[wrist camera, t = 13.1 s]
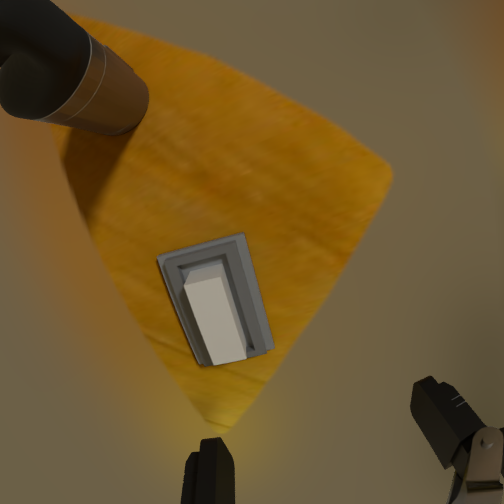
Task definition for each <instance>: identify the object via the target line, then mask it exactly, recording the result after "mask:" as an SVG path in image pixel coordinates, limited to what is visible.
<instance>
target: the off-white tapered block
mask: <svg viewBox="0 0 504 504" xmlns="http://www.w3.org/2000/svg"><path fill="white" fill-rule="evenodd" d="M184 288H185V291H186V294H187V296H188V299H189V302H190V305H191V308H192V310H193V313H194V316H195V318H196V321H197V324H198V326H199V329H200V332H201V334H202V337H203V339H204V342H205V344H206V347H207V350H208V352H209V354H210V357H211V359H212V362H213V364H214V365H219V364H224V363H229V362H234V361H239V360H244V359H247V357H246V339H245V336H244V332H243V329H242V326H241V323H240V320H239V316H238V313H237V310H236V307H235V303H234V300H233V297H232V293H231V290H230V287H229V283H228V280H227V277H226V273H225V270H224V266H223V263H222V264H218V265H214V266H210V267H206V268H202V269H198V270H194V271H190V273H189V275H188V277H187V279H186V282H185V284H184Z"/></svg>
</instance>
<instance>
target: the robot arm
mask: <svg viewBox="0 0 504 504" xmlns="http://www.w3.org/2000/svg"><path fill="white" fill-rule="evenodd" d="M0 67H1V69H0V104H1V106H2V108H3V109H4V110H5V111H6V112H7V113H8V114H10V115H12V116H14V117H18V118H23V119H30V120H36V121H41V122H47V123H53V124H58V125H63V126H68V127H73V128H78V129H83V130H87V131H92V132H96V133H101V134H104V135H111V136H113V135H120V134H123V133H126V132H128V131H129V130H131V129H132V128H134V127H135V126H136V125H137V124H138V123H139V122H140V121H141V119H142V118H143V116H144V114H145V112H146V110H147V107H148V102H149V93H148V88H147V86H146V84H145V83H144V81H143V80H142V79H141V78H140V77H139V76H137V75H136V74H135V73H134V72H133V69H132V68H131V67H130V66H129V65H128V64H127V63H126V62H125V61H123V60H122V59H121V58H120V57H119V56H118V55H117V54H116V53H115V52H113V51H112V50H111V49H110V48H109V47H108V46H106V45H102V44H101V43H100V42H98V41H97V40H96V39H95V38H93V37H92V36H91V35H90V34H89V33H87V32H86V31H85V30H84V29H83V28H82V27H80V26H79V25H78V24H77V23H76V22H74V21H73V20H72V19H71V18H70V17H69V16H68V15H67V14H66V13H65V12H63V11H62V10H61V9H60V8H59V7H58V6H56V5H55V4H54V3H53V2H51V1H50V0H0ZM410 409H411V413H412V416H413V418H414V419H415V421H416V423H417V424H418V426H419V427H420V429H421V431H422V432H423V434H424V436H425V437H426V439H427V440H428V442H429V443H430V445H431V447H432V449H433V450H434V452H435V454H436V455H437V457H438V459H439V460H440V462H441V464H442V466H443V467H444V469H447V468H449V467H451V466H452V465H453V466H454V468H455V472H454V476H453V480H452V484H451V489H450V492H449V496H448V499H447V503H446V504H501V501H502V496H503V489H504V488H503V484H501V483H500V473H501V474H502V476H503V477H504V428H500V429H498V428H496V427H492V426H486V425H485V424H484V423H483V422H482V421H481V419H480V418H479V417H478V416H477V414H476V413H475V412H474V411H473V410H472V408H471V407H470V406H469V405H468V403H467V402H465V400H464V399H463V398H462V396H460V394H459V393H458V391H457V390H456V389H455V388H454V387H453V386H451V385H449V384H447V383H445V382H442V383H440V384H438V383H437V381H436V380H435V379H434V378H433V377H432V376H428V377H426V378H424V379H421V380H420V381H418V382H415V383H414V385H413V391H412V398H411V404H410ZM184 473H185V475H184V480H183V481H184V483H183V488H182V496H181V504H235V468H234V461H233V458H232V455H231V454H230V452H229V450H228V449H227V447H226V445H225V444H224V442H223V440H222V439H221V438H220V437H217V438H209V439H202V440H201V443H200V452H192V453H191V454H190V456H189V458H188V459H187V461H186V464H185V472H184Z"/></svg>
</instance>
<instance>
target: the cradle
mask: <svg viewBox="0 0 504 504" xmlns="http://www.w3.org/2000/svg"><path fill="white" fill-rule="evenodd" d="M157 259H158V262H159V265H160V268H161V271H162V274H163V276H164V279H165V282H166V285H167V287H168V290H169V293H170V295H171V298H172V300H173V303H174V306H175V308H176V311H177V313H178V316H179V318H180V321H181V323H182V326H183V328H184V331H185V333H186V335H187V338H188V340H189V343H190V345H191V347H192V350H193V352H194V354H195V356H196V359H197V361H198V363H199V364H204V366H210V365H214V364H213V362H212V359H211V357H210V354H209V352H208V350H207V347H206V344H205V342H204V339H203V337H202V334H201V332H200V329H199V326H198V324H197V321H196V318H195V316H194V313H193V310H192V308H191V305H190V302H189V299H188V296H187V294H186V291H185V288H184V284H185V282H186V279H187V277H188V275H189V273H190V271H194V270H198V269H202V268H206V267H210V266H214V265H218V264H222V263H223V266H224V270H225V273H226V277H227V280H228V283H229V287H230V290H231V293H232V297H233V300H234V303H235V307H236V310H237V313H238V316H239V320H240V323H241V326H242V329H243V332H244V336H245V339H246V357H247V358H249V357H254V356H258V355H262V354H266V353H267V351H266V350H270V349H274V348H275V346H274V342H273V339H272V335H271V331H270V328H269V324H268V320H267V316H266V313H265V309H264V305H263V302H262V298H261V294H260V291H259V287H258V283H257V279H256V276H255V272H254V268H253V265H252V261H251V257H250V253H249V250H248V246H247V242H246V239H245V235H244V232H242V233H238V234H234V235H230V236H227V237H223V238H219V239H215V240H212V241H208V242H204V243H201V244H197V245H193V246H189V247H186V248H182V249H179V250H175V251H171V252H168V253H164V254H161V255H158V256H157Z"/></svg>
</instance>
